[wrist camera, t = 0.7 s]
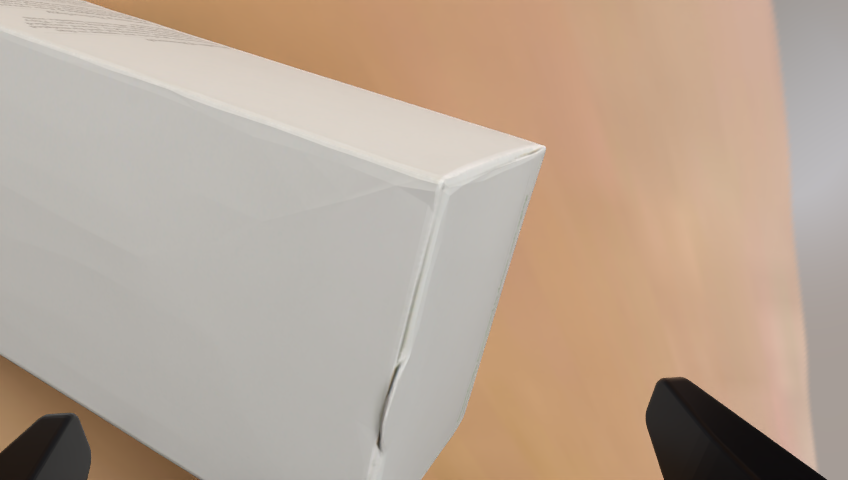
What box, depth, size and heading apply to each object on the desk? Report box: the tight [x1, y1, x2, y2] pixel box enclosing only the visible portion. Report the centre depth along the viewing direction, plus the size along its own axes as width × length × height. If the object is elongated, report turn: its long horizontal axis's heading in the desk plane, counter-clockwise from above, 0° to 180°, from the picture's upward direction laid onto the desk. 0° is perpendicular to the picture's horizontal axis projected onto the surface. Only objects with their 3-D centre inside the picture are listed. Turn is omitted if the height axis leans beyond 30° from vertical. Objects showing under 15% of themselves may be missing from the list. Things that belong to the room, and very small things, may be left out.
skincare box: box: [0, 0, 546, 480], centre depth 15 cm, size 8×7×16 cm
